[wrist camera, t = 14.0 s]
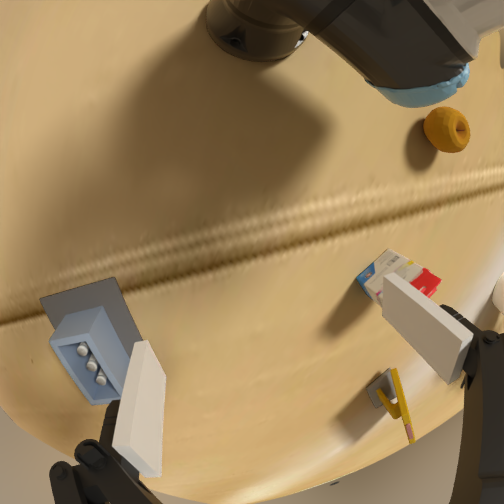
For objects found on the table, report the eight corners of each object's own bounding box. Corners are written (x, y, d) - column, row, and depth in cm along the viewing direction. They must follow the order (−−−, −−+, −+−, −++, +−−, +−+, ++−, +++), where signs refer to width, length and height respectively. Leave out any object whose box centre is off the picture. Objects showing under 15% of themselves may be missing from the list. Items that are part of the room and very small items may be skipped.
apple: (424, 159, 44) (458, 163, 36) (407, 116, 41) (442, 114, 33) (448, 142, 44) (481, 145, 36) (434, 102, 41) (467, 100, 33)
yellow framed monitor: (400, 396, 66) (429, 433, 51) (377, 412, 66) (403, 451, 51) (388, 359, 58) (425, 401, 44) (360, 378, 58) (394, 425, 44)
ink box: (365, 294, 51) (412, 336, 37) (354, 277, 49) (403, 317, 35) (397, 265, 50) (449, 298, 36) (388, 246, 48) (443, 277, 35)
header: (40, 298, 39) (23, 317, 33) (114, 276, 41) (102, 296, 35) (94, 391, 47) (87, 415, 41) (164, 380, 49) (162, 406, 42)
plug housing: (65, 315, 41) (48, 341, 33) (102, 305, 42) (88, 332, 34) (100, 376, 46) (91, 405, 38) (136, 370, 47) (130, 400, 39)
